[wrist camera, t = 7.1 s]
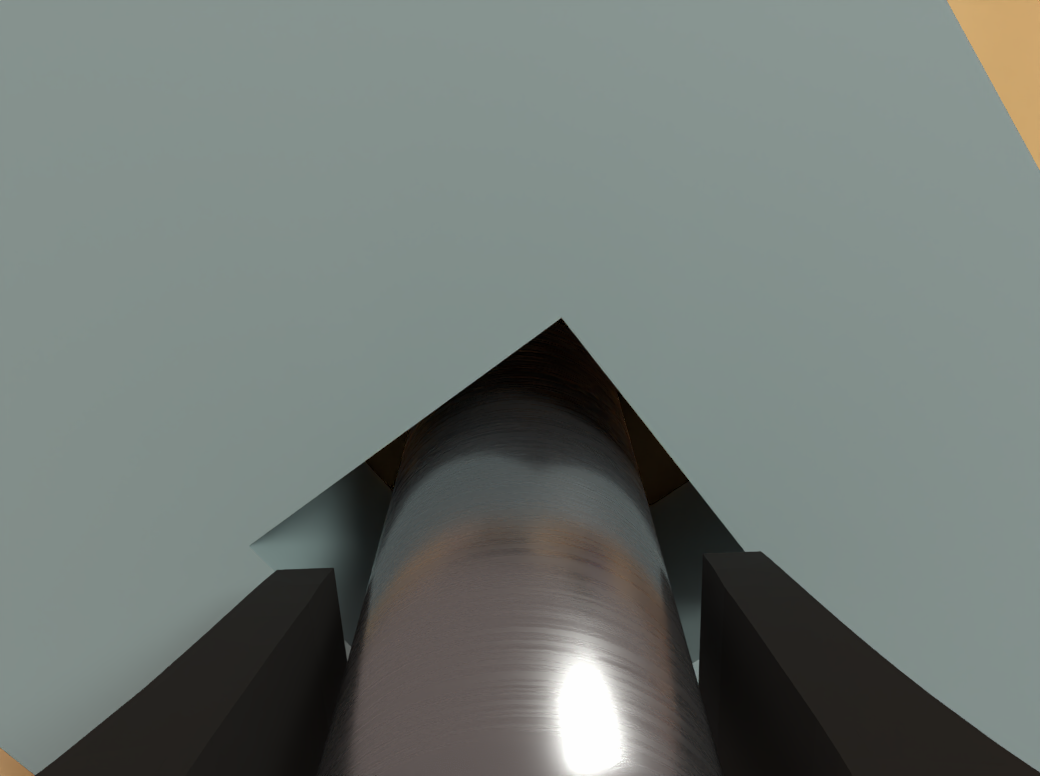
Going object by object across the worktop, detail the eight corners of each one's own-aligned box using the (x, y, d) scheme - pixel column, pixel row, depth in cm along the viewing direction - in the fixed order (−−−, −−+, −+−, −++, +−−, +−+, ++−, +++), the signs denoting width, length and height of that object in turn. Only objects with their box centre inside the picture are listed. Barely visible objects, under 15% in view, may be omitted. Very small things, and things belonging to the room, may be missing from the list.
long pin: (645, 451, 15) (813, 1004, 6) (469, 518, 15) (413, 1116, 7) (572, 280, 14) (658, 676, 5) (385, 358, 14) (193, 837, 6)
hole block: (1135, 548, 15) (1337, 715, 11) (489, 907, 18) (480, 1131, 14) (578, -381, 10) (610, -616, 7) (-157, 314, 14) (-414, 417, 10)
